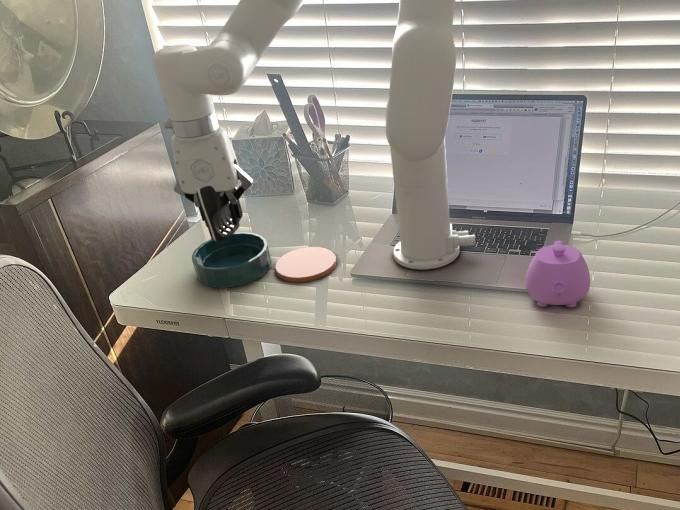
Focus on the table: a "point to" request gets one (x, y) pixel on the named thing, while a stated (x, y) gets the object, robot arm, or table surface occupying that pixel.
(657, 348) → the table surface
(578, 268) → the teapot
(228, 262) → the bowl
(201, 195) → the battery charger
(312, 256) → the plate
